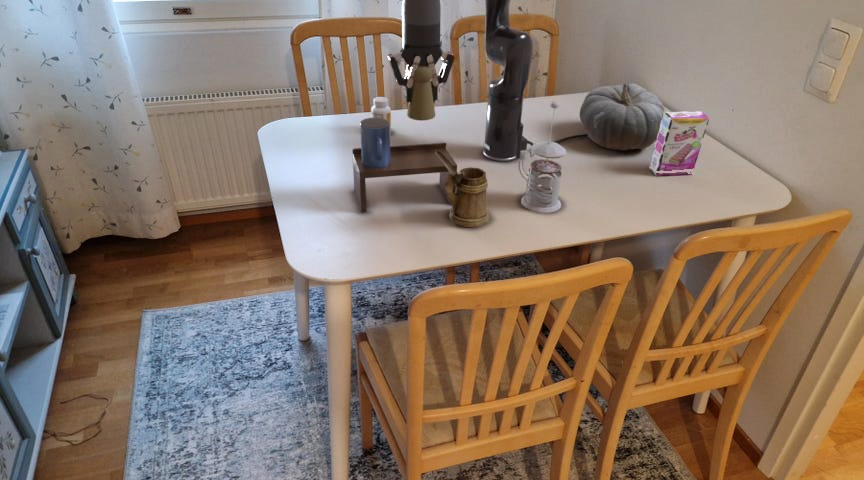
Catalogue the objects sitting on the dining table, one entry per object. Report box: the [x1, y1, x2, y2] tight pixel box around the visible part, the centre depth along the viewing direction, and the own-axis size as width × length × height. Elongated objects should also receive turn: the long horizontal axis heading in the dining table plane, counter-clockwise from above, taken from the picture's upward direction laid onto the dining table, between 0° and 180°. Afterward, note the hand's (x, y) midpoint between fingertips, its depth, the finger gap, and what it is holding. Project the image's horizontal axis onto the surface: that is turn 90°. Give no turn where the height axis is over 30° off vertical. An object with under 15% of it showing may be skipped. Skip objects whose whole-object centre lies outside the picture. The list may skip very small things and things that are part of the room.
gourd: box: [579, 82, 665, 151], centre depth 183 cm, size 25×25×17 cm
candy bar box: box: [648, 110, 710, 177], centre depth 168 cm, size 11×5×16 cm, turn 104°
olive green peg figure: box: [406, 65, 436, 122], centre depth 132 cm, size 6×6×11 cm
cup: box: [359, 117, 391, 167], centre depth 139 cm, size 6×8×9 cm
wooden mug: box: [436, 150, 490, 228], centre depth 138 cm, size 9×14×18 cm, turn 120°
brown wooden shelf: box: [351, 142, 458, 214], centre depth 146 cm, size 22×10×11 cm, turn 108°
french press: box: [518, 101, 567, 214], centre depth 146 cm, size 10×12×25 cm
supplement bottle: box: [370, 96, 392, 134], centre depth 178 cm, size 5×5×10 cm
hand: (421, 102), depth 134 cm, fingers closed on olive green peg figure, 4 cm apart
